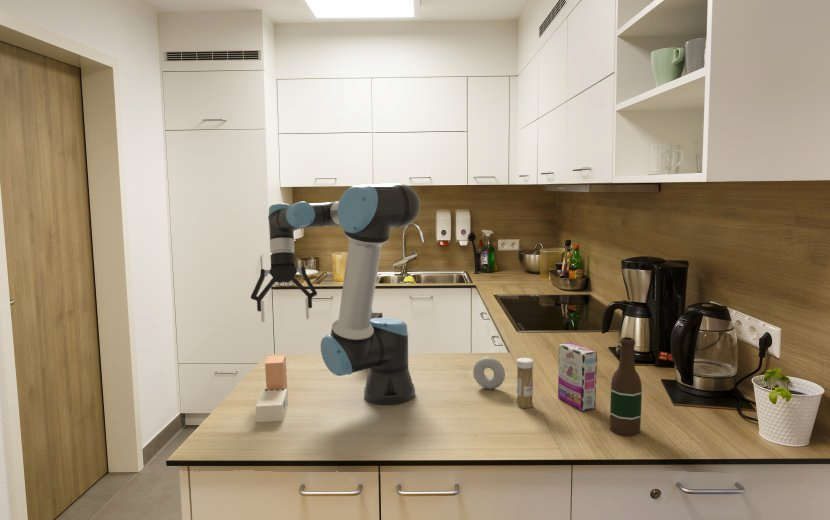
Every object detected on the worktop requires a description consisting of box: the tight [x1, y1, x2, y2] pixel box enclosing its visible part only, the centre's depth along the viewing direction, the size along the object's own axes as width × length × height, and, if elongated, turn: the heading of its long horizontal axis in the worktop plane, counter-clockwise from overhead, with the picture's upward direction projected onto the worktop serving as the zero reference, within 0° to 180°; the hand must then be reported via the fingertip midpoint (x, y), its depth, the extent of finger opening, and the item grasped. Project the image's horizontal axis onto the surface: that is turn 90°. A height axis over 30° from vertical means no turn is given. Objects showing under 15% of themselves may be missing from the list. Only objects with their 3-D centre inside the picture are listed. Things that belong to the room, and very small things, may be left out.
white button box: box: [255, 388, 289, 423], centre depth 164 cm, size 7×12×5 cm, turn 6°
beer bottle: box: [609, 336, 643, 437], centre depth 147 cm, size 8×8×24 cm
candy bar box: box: [557, 342, 598, 412], centre depth 166 cm, size 11×5×16 cm, turn 23°
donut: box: [472, 356, 506, 390], centre depth 179 cm, size 10×4×10 cm, turn 65°
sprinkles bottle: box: [516, 357, 534, 409], centre depth 165 cm, size 5×5×14 cm
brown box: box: [264, 354, 288, 394], centre depth 174 cm, size 5×7×12 cm
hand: (285, 320), depth 183 cm, fingers open, 13 cm apart
